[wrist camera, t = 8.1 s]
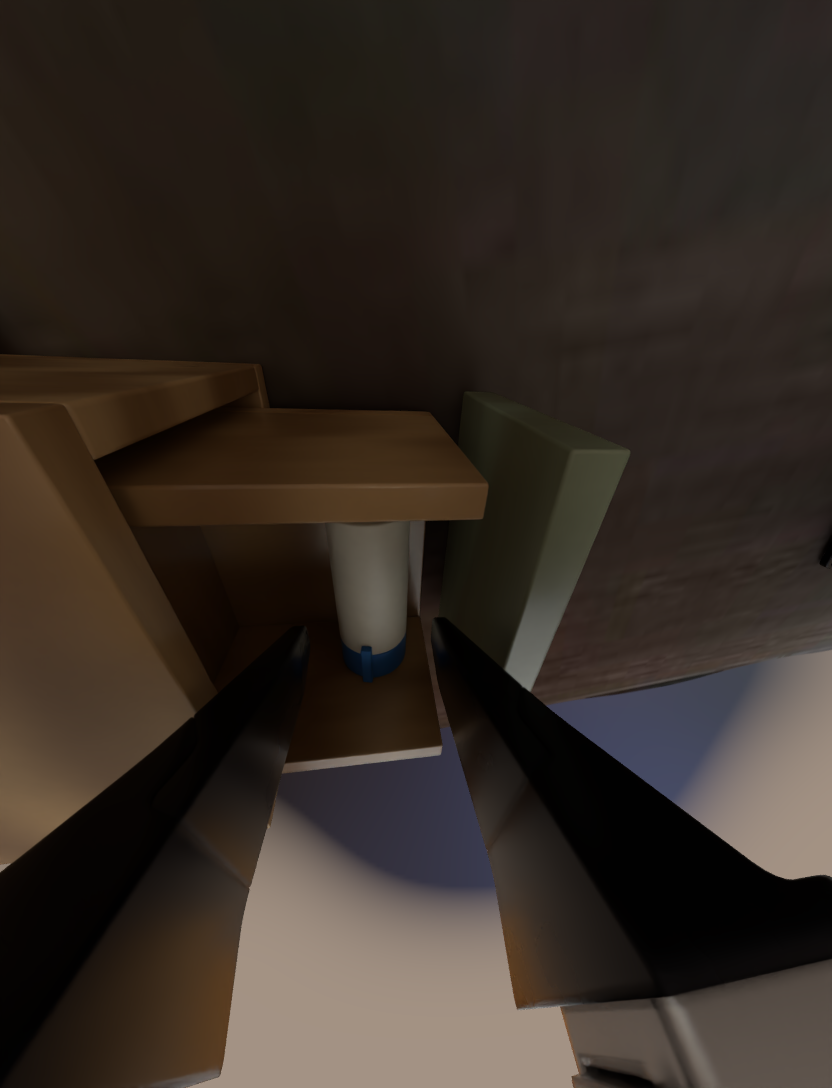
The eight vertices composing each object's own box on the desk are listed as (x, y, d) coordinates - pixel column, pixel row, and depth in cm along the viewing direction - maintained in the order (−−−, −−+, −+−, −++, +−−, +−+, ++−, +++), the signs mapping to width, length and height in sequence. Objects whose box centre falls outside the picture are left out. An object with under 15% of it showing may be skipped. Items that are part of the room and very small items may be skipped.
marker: (335, 470, 11) (303, 507, 9) (413, 474, 11) (406, 514, 9) (351, 624, 16) (333, 680, 13) (408, 628, 16) (401, 686, 13)
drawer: (522, 392, 12) (693, 450, 6) (476, 616, 19) (530, 758, 12) (140, 381, 11) (-231, 443, 4) (239, 630, 17) (159, 804, 11)
